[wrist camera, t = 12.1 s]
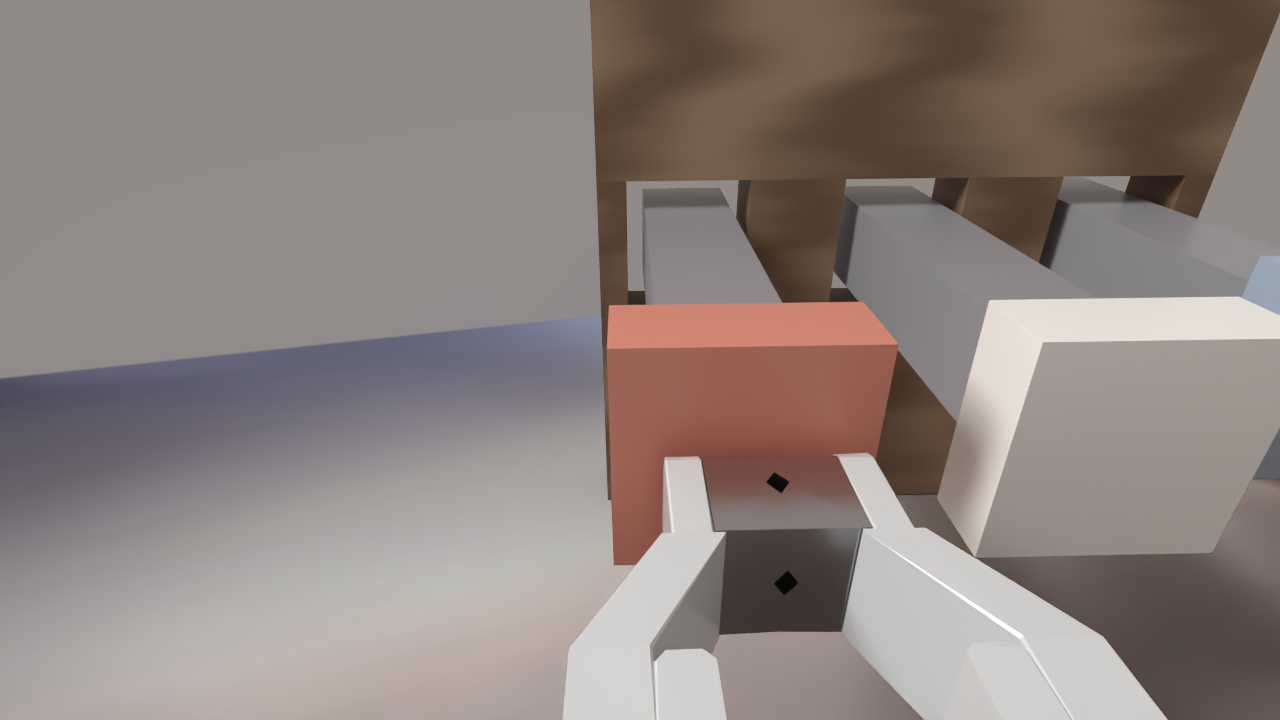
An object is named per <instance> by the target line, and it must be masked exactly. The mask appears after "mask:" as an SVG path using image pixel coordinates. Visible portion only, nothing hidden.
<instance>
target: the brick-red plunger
mask: <svg viewBox="0 0 1280 720" xmlns="http://www.w3.org/2000/svg"><path fill="white" fill-rule="evenodd" d="M642 209H643V210H642V211H643V212H642V214H643V215H642V216H643V217H642V218H643V220H642V221H643V222H642V223H643V273H644V287H645V300H646V305H609V314H608V335H607V370H608V400H609V431H610V461H611V492H612V522H613V553H614V565H636V564H637V563H638V562H639V561H640V559H641V558H642V557H643V556H644V555H645V553H646V552H647V551H648V550H649V548H650V547H651V546H652V545H653V543H654V542H655V541H656V540H657V538H658V537H659V536H660V535H661V534H662V533H663V520H662V518H663V469H664V459H665V457H693V456H698V457H699V458H700V456H744V457H795V456H833V454H852V453H868V454H870V455H872V456H873V457H874V459H875V460H876V455H877V450H878V445H879V440H880V435H881V430H882V425H883V421H884V416H885V411H886V406H887V401H888V396H889V391H890V386H891V381H892V376H893V371H894V366H895V361H896V356H897V351H898V346H899V344H898V343H897V342H896V340H895V339H894V338H893V337H892V336H891V334H890V333H889V332H888V331H887V330H886V328H885V327H884V326H883V325H882V324H881V322H880V321H879V320H878V319H877V318H876V316H875V315H874V314H873V313H872V312H871V310H870V309H869V308H868V307H867V305H866V304H865V303H864V302H808V303H782V301H781V299H780V298H779V296H778V294H777V292H776V290H775V289H774V287H773V285H772V283H771V281H770V279H769V278H768V276H767V274H766V272H765V270H764V268H763V267H762V265H761V263H760V261H759V259H758V257H757V256H756V254H755V252H754V250H753V248H752V246H751V245H750V243H749V241H748V239H747V237H746V236H745V234H744V232H743V230H742V228H741V226H740V225H739V223H738V221H737V219H736V217H735V215H734V214H733V212H732V210H731V208H730V206H729V204H728V203H727V201H726V199H725V197H724V195H723V193H722V192H721V190H720V188H675V189H674V188H673V189H672V188H669V189H642Z"/></svg>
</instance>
